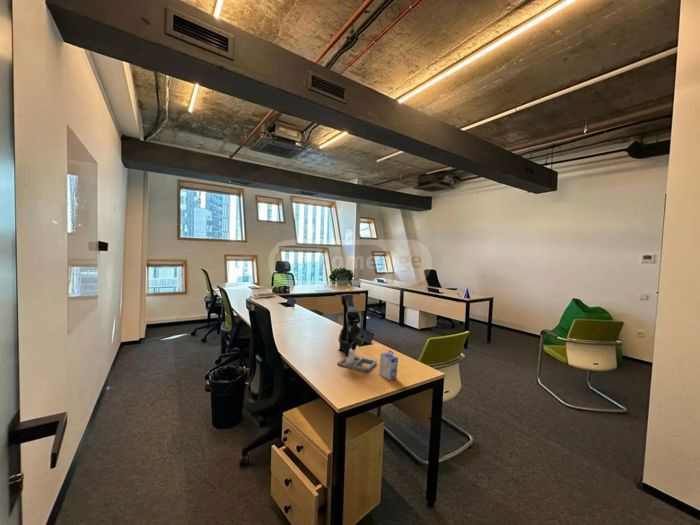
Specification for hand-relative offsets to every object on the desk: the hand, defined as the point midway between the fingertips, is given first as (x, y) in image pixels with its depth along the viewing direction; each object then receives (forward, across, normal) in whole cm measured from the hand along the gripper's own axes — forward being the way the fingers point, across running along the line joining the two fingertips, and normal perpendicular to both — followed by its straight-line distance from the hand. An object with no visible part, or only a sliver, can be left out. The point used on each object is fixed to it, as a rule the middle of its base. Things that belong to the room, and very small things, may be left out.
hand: (350, 354), depth 184 cm
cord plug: (+5, 0, 0) cm, 5 cm away
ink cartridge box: (+5, -6, -27) cm, 28 cm away
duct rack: (+5, 0, -5) cm, 7 cm away
